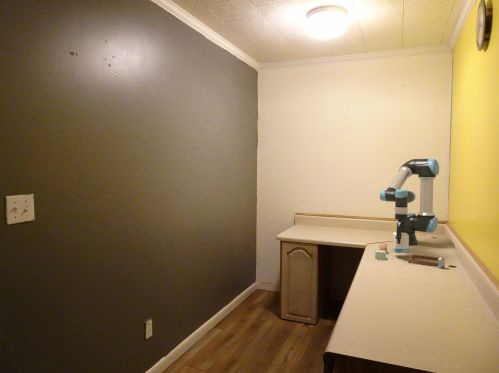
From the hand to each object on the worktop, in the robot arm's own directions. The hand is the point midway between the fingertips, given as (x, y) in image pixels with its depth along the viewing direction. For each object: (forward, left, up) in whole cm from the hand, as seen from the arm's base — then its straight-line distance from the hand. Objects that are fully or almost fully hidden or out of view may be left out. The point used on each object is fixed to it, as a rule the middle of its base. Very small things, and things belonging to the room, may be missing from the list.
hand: (400, 246), depth 235 cm
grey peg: (+13, +25, -7) cm, 29 cm away
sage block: (+11, -10, -7) cm, 17 cm away
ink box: (0, 0, -3) cm, 3 cm away
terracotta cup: (-6, -12, -7) cm, 15 cm away
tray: (+5, +15, -7) cm, 17 cm away
